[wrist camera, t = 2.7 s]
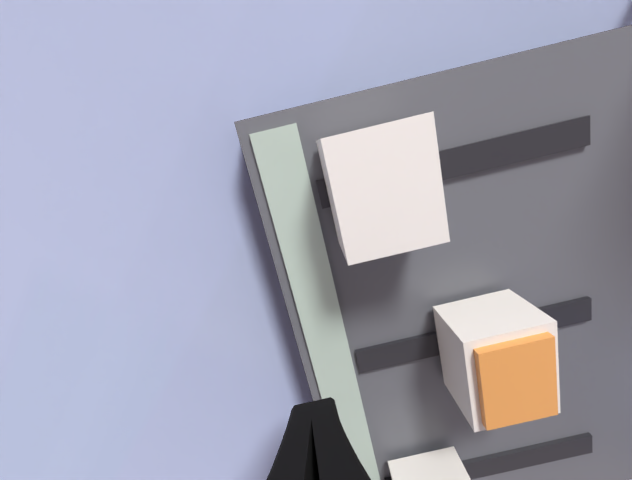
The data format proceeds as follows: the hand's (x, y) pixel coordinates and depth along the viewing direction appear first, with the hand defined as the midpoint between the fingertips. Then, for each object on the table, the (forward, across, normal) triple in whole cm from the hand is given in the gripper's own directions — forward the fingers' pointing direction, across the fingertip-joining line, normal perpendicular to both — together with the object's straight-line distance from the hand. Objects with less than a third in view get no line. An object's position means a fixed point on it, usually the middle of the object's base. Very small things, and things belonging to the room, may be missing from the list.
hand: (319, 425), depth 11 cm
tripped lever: (+3, -7, 0) cm, 7 cm away
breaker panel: (+5, -7, 0) cm, 8 cm away
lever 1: (+3, -4, -7) cm, 8 cm away
